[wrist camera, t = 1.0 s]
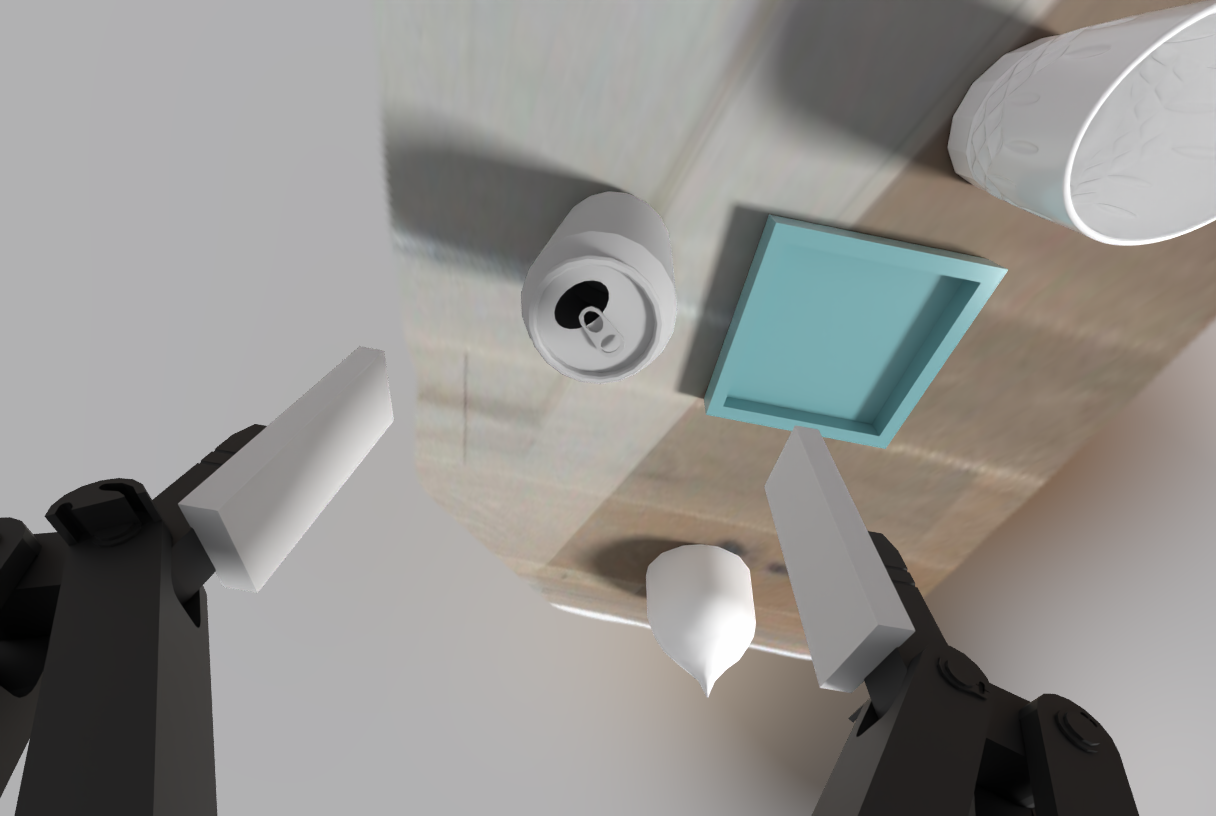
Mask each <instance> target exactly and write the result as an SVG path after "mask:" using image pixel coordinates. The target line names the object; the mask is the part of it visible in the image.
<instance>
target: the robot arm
mask: <svg viewBox="0 0 1216 816" xmlns="http://www.w3.org/2000/svg"><path fill="white" fill-rule="evenodd" d="M393 420H394V419H393V412H392V405H391V397H390V390H389V383H388V376H387V369H386V362H385V354H384V351H382V350H377V349H371V348H366V347H358V348H357V349H356V350H355V351H354V352H353V353H351V354H350V355H349V356H348V357H347V358H346V359H344V360H343V361H342V362H341V363H340V364H339V365H337V366H336V367H335V368H334V369H333V370H332V371H331V372H329V373H328V374H327V375H326V376H325V377H324V378H322V379H321V380H320V381H319V382H318V383H317V384H316V385H314V386H313V387H312V388H311V389H310V390H309V391H307V392H306V393H305V394H304V395H303V396H302V397H301V398H299V399H298V400H297V401H296V402H295V403H294V404H293V405H291V406H290V407H289V408H288V409H287V410H286V411H284V412H283V413H282V414H281V415H280V416H279V417H278V418H276V419H275V420H274V421H273V422H272V423H271V424H270V425H268V426H264V425H258V424H254V425H252V426H250V427H248V428H246V429H244V430H242V431H239V432H237V433H235V434H233V435H232V436H230V437H229V438H228V439H227V440H225V441H224V442H223V443H222V444H221V445H219V446H218V447H217V448H216V449H215V451H214V452H211V453H210V454H208V455H207V456H206V457H205V458H203V459H202V460H201V463H200V464H199V463H197V464H196V465H195V466H193V467H192V468H191V469H190V470H189V471H187V472H186V473H185V474H184V475H182V476H181V477H180V478H179V479H178V480H176V481H175V482H174V483H173V484H171V485H170V486H169V487H168V488H166V489H165V490H164V491H163V492H162V493H160V494H159V495H158V496H157V497H155V498H154V499H153V500H152V499H151V498H150V496H149V494H148V493H147V491H146V489H145V488H144V486H143V484H141V483H139V482H137V481H135V480H133V479H122V478H116V479H110V480H102V481H98V482H95V483H92V484H88V485H85V486H82V487H80V488H78V489H76V490H74V491H72V492H70V493H68V494H66V495H64V496H63V497H62V498H60V499H59V500H58V501H57V502H55V503H54V504H53V505H52V506H51V507H50V509H49V510H48V512H47V513H46V515H45V517H46V518H47V520H48V521H49V522H50V523H51V525H52V526H53V527H54V528H55V530H56V531H57V532H54V533H42V534H32V533H31V531H30V530H29V529H28V528H27V527H26V525H25V524H24V523H23V522H22V521H20V520H17V519H13V518H10V517H9V518H0V797H1V795H2V793H3V791H4V789H5V787H6V785H7V783H8V781H9V779H10V777H11V775H12V773H13V771H14V769H15V767H16V765H17V763H18V761H19V759H20V757H21V755H22V753H23V751H24V749H25V747H26V744H27V743H28V741H29V739H30V741H29V746H28V751H27V757H26V761H25V766H24V771H23V776H22V781H21V786H20V791H19V796H18V801H17V807H16V811H15V816H217V801H216V780H215V759H214V739H213V717H212V696H211V675H210V654H209V633H208V611H207V594H206V591H205V589H204V587H203V584H204V583H205V582H206V581H207V580H208V579H209V578H210V577H211V576H212V574H213V573H214V572H216V574H217V576H218V578H219V580H220V581H221V583H222V585H223V587H226V588H233V589H238V590H244V591H250V592H256V593H257V592H259V590H260V589H261V588H262V586H263V585H264V584H265V583H266V581H267V580H268V579H269V578H270V576H271V575H272V574H273V573H274V571H275V570H276V569H277V568H278V566H279V565H280V564H281V562H282V561H283V560H284V559H285V557H286V556H287V555H288V553H289V552H290V551H291V550H292V548H293V547H294V546H295V545H296V544H297V542H298V541H299V540H300V538H301V537H302V536H303V535H304V533H305V532H306V531H307V530H308V528H309V527H310V526H311V525H312V523H313V522H314V521H315V520H316V518H317V517H318V515H319V514H320V513H321V512H322V511H323V509H324V508H325V507H326V506H327V504H328V503H329V502H330V501H331V499H332V498H333V497H334V496H335V494H336V493H337V492H338V490H339V489H340V488H341V487H342V485H343V484H344V483H345V482H346V480H347V479H348V478H349V477H350V475H351V474H352V472H353V471H354V470H355V469H356V468H357V466H358V465H359V464H360V463H361V461H362V460H363V459H364V458H365V456H366V455H367V454H368V453H369V451H370V450H371V449H372V447H373V446H374V445H375V444H376V442H377V441H378V440H379V439H380V437H381V436H382V435H383V434H384V432H385V431H386V430H387V429H388V427H389V426H390V425H391V423H392V422H393ZM764 487H765V491H766V494H767V498H768V502H769V505H770V509H771V512H772V516H773V520H774V523H775V527H776V531H777V534H778V538H779V541H780V545H781V549H782V552H783V556H784V560H785V563H786V567H787V570H788V574H789V578H790V581H791V585H792V588H793V592H794V596H795V599H796V603H797V607H798V610H799V614H800V617H801V621H802V625H803V628H804V632H805V636H806V639H807V643H808V646H809V650H810V654H811V657H812V661H813V665H814V668H815V672H816V675H817V679H818V682H819V686H820V688H825V689H831V690H837V691H843V692H849V693H852V692H853V691H854V690H855V689H856V688H857V687H858V686H859V685H860V684H861V683H863V682H864V681H865V683H866V686H867V689H868V692H869V695H870V699H869V700H867V701H866V702H865V703H864V704H863V705H862V706H861V707H860V708H859V709H858V710H856V711H855V712H854V713H853V714H852V715H851V716H850V717H849V719H850V720H851V721H852V722H854V721H855V720H856V719H857V720H856V723H855V724H854V726H853V729H852V731H851V733H850V735H849V737H848V739H847V741H846V743H845V746H844V748H843V750H842V752H841V754H840V757H839V758H838V761H837V763H836V765H835V767H834V769H833V771H832V773H831V775H830V778H829V780H828V782H827V784H826V786H825V788H824V790H823V793H822V795H821V797H820V799H819V801H818V803H817V805H816V807H815V810H814V812H813V814H812V816H1139V814H1138V811H1137V807H1136V804H1135V801H1134V798H1133V795H1132V791H1131V788H1130V786H1129V782H1128V779H1127V776H1126V773H1125V769H1124V767H1123V763H1122V760H1121V757H1120V754H1119V752H1118V750H1117V748H1116V746H1115V744H1114V742H1113V740H1112V738H1111V737H1110V736H1109V734H1108V733H1107V732H1106V731H1105V729H1104V728H1103V727H1102V726H1101V725H1100V723H1099V722H1098V721H1096V720H1095V719H1094V718H1093V717H1092V716H1091V715H1090V714H1089V713H1088V712H1087V711H1085V710H1084V709H1083V708H1081V707H1080V706H1078V705H1077V704H1075V703H1074V702H1072V701H1070V700H1069V699H1066V698H1064V697H1061V696H1059V695H1056V694H1043V695H1041V696H1040V697H1038V698H1037V699H1035V700H1033V701H1032V702H1029V701H1027V700H1025V699H1023V698H1021V697H1018V696H1016V695H1014V694H1012V693H1010V692H1008V691H1006V690H1004V689H1001V688H999V687H997V686H995V685H993V684H991V683H989V681H988V679H987V677H986V676H985V675H984V673H983V672H982V671H981V670H980V668H979V667H978V666H977V665H976V664H975V663H974V662H973V661H971V659H969V658H968V657H967V656H966V655H965V654H964V653H962V652H960V651H958V650H956V649H955V648H953V647H951V646H948V644H947V643H946V641H945V639H944V637H943V635H942V633H941V631H940V630H939V628H938V626H937V624H936V622H935V620H934V618H933V616H932V614H931V612H930V611H929V609H928V607H927V605H926V603H925V601H924V599H923V597H922V595H921V593H920V592H919V590H918V588H917V587H915V582H914V580H913V578H912V576H911V575H910V573H909V572H907V567H906V565H905V563H904V561H903V559H902V557H901V556H900V554H899V552H898V550H897V549H896V548H895V547H894V546H893V545H892V544H891V543H890V542H889V541H888V539H887V538H886V537H885V536H884V535H883V534H881V533H876V532H870V531H867V529H866V527H865V525H864V523H863V521H862V519H861V517H860V515H859V513H858V510H857V508H856V506H855V504H854V502H853V500H852V498H851V496H850V494H849V492H848V490H847V488H846V486H845V483H844V481H843V479H842V477H841V475H840V473H839V471H838V469H837V467H836V465H835V463H834V461H833V459H832V457H831V454H830V452H829V450H828V448H827V446H826V444H825V442H824V440H823V438H822V436H821V434H820V432H819V430H818V429H813V428H807V427H802V426H796V425H795V426H794V428H793V430H792V432H791V434H790V436H789V438H788V440H787V442H786V444H785V446H784V448H783V450H782V452H781V454H780V456H779V458H778V460H777V462H776V464H775V466H774V468H773V470H772V472H771V474H770V476H769V478H768V480H767V482H766V484H765V486H764Z"/></svg>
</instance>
